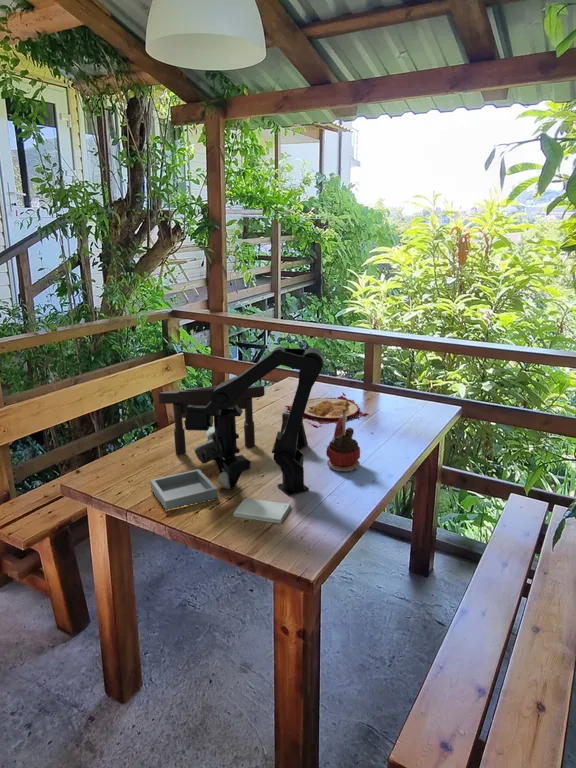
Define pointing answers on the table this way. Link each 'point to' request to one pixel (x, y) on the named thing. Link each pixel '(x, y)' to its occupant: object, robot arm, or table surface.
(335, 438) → the cake
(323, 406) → the plate with food
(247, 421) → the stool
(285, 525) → the table surface
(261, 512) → the hard drive
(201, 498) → the tray
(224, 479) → the garlic
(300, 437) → the phone stand
